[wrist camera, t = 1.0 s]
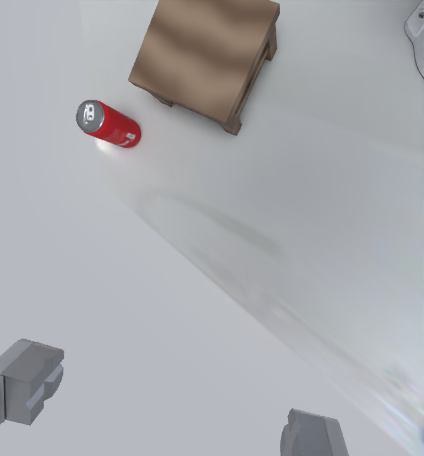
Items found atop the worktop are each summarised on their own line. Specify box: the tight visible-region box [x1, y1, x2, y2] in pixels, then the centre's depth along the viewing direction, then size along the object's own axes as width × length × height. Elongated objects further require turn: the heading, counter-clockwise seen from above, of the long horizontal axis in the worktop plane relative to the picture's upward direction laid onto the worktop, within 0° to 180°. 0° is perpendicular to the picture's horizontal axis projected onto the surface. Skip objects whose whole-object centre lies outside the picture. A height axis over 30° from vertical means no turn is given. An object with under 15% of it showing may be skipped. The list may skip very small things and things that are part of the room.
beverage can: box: [76, 100, 140, 148], centre depth 52 cm, size 5×5×12 cm
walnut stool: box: [128, 0, 280, 136], centre depth 48 cm, size 16×16×11 cm
